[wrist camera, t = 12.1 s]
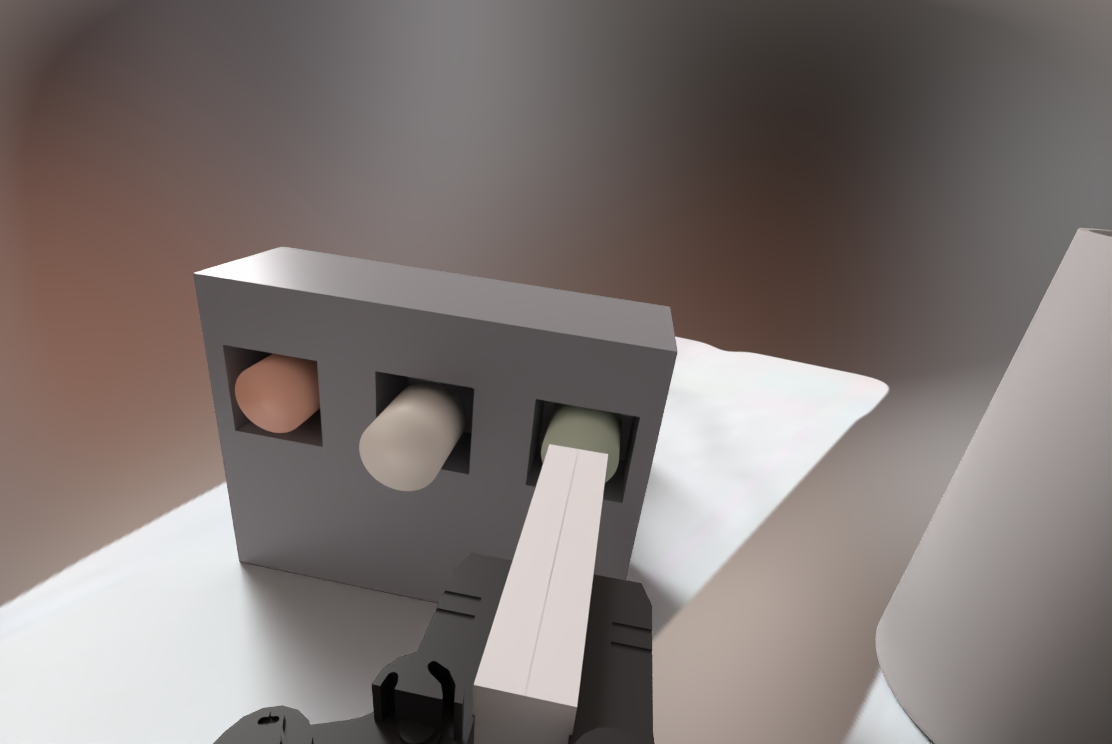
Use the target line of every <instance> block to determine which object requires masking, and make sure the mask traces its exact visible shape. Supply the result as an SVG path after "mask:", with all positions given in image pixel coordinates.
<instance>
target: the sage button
mask: <svg viewBox="0 0 1112 744" xmlns="http://www.w3.org/2000/svg"><path fill="white" fill-rule="evenodd" d="M621 424H622V415H621V414H619V413H613V412H608V411H602V410H596V409H590V408H585V407H579V406H573V405H567V404H562V403H556V404H555V407H554V410H553V413H552V416H551V419H550V422H549V425H548V429H547V432H546V435H545V438H544V441H543V444H542V448H541V459H542V462H543V463H544V460H545V457H546V453H547V450H548V447H549V444H551V445H557V446H563V447H569V448H575V449H581V450H587V451H593V452H599V453H605V454H608V460H607V468H606V476H605V483H606V482H607V481H608V480H609V479H610V478H611V477H612V476H613V475H614V473H615V472H616V470H617V467H618V463H619V452H620V438H621Z"/></svg>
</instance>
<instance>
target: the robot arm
mask: <svg viewBox="0 0 1112 744" xmlns="http://www.w3.org/2000/svg"><path fill="white" fill-rule="evenodd" d="M607 460H608V454H605V453H599V452H593V451H587V450H581V449H575V448H569V447H563V446H557V445H551V444H549V447H548V450H547V453H546V457H545V460H544V463H543V466H542V469H541V472H540V476H539V479H538V482H537V485H536V488H535V491H534V495H533V498H532V501H531V504H530V507H529V510H528V514H527V517H526V520H525V523H524V526H523V529H522V533H521V536H520V539H519V542H518V545H517V549H516V552H515V555H514V558H513V560H507V559H502V558H497V557H492V556H486V555H481V554H476V553H471V554H470V555H469V556H468V557H467V558H466V559H464V560H463V561H462V562H461V563H460V564H459V565H458V566H457V567H456V568H455V569H454V570H453V573H452V575H451V577H450V579H449V582H448V584H447V586H446V589H445V592H444V595H442V598H441V600H440V602H439V604H438V607H437V610H436V613H434V616H433V618H432V620H431V622H430V625H429V627H428V629H427V631H426V634H425V636H424V638H423V640H422V643H421V645H420V647H419V649H418V652H415V653H412V654H409V655H405V656H402V657H399V658H397V659H396V660H395V661H393V662H392V663H390V664H389V665H388V666H386V667H385V668H383V670H382V671H381V672H380V674H379V675H378V676H377V678H376V679H375V680H374V682H373V683H372V694H373V708H374V712H372V713H370V714H368V715H366V716H363V717H360V718H356V719H351V720H346V721H338V722H331V723H323V724H315V725H310V723H309V720H308V719H307V718H306V717H305V716H304V715H303V714H302V713H301V712H300V711H299V710H296V709H292V708H289V707H285V706H276V707H267V708H262V709H260V710H258V711H255V712H253V713H251V714H249V715H246V716H244V717H243V718H241V719H240V720H239V721H238V722H236V723H235V724H234V725H233V726H231V727H230V728H229V729H228V730H226V731H225V732H224V733H223V734H222V735H221V736H220V737H219V738H218V739H217V740H216V741H215V742H214V743H213V744H654V737H653V704H652V702H653V700H652V605H651V603H650V601H649V599H648V597H647V595H646V592H645V590H644V588H643V586H642V584H641V583H637V582H632V581H626V580H621V579H616V578H610V577H605V576H600V575H595V574H594V566H595V557H596V549H597V541H598V533H599V525H600V517H601V509H602V501H603V492H604V484H605V476H606V468H607Z"/></svg>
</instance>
